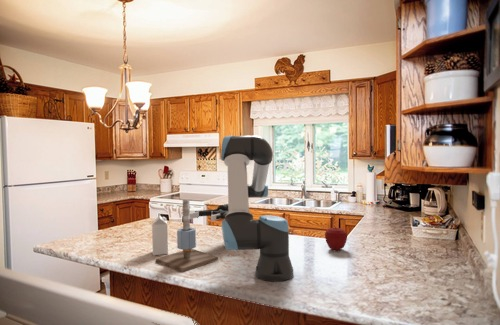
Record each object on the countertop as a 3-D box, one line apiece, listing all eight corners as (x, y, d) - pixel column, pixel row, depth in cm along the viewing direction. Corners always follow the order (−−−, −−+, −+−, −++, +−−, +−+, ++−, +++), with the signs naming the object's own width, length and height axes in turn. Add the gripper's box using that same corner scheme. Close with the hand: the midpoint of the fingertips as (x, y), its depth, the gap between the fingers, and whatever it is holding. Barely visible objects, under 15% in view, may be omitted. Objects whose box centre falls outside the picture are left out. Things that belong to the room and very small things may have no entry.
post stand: (218, 259, 148) (217, 199, 147) (182, 271, 133) (181, 204, 132) (190, 251, 161) (189, 195, 161) (155, 261, 146) (154, 200, 146)
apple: (348, 253, 155) (348, 229, 154) (325, 252, 157) (325, 228, 157) (346, 247, 165) (346, 224, 165) (324, 246, 168) (324, 224, 167)
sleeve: (199, 246, 147) (199, 229, 147) (185, 250, 141) (184, 232, 141) (188, 243, 153) (188, 226, 153) (174, 247, 147) (174, 229, 147)
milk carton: (152, 255, 155) (152, 216, 155) (153, 251, 162) (152, 214, 162) (167, 254, 157) (167, 215, 157) (167, 250, 164) (166, 213, 164)
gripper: (245, 220, 168) (221, 227, 150) (207, 216, 181) (181, 222, 162) (245, 205, 168) (220, 211, 150) (207, 203, 181) (181, 208, 162)
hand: (200, 217), depth 156 cm, fingers open, 13 cm apart
